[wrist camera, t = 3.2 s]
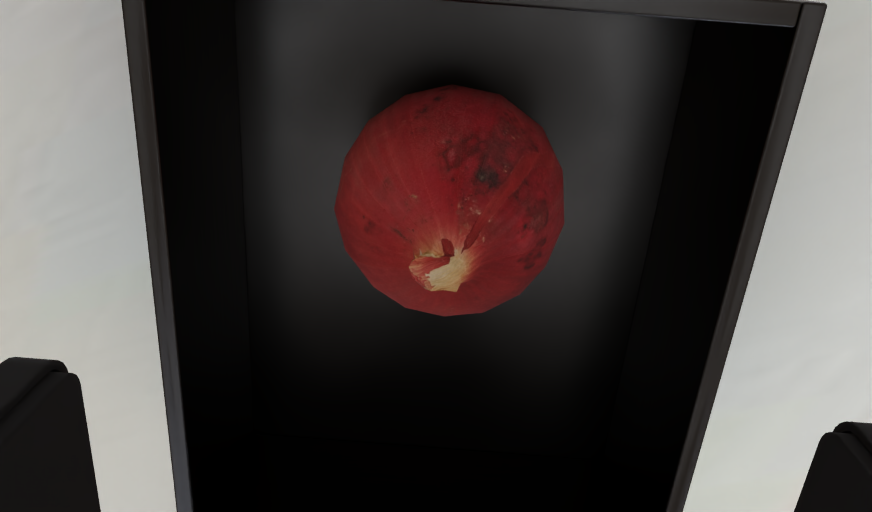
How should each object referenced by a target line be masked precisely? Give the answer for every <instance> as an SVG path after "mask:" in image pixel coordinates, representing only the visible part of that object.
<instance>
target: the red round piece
mask: <svg viewBox="0 0 872 512" xmlns="http://www.w3.org/2000/svg"><path fill="white" fill-rule="evenodd" d="M334 211H335V214H336V218H337V222H338V225H339V229H340V233H341V236H342V240H343V244H344V247H345V250H346V252H347V253H348V254H349V256H350V257H351V258H352V260H353V261H354V262H355V263H356V265H357V266H358V267H359V269H360V270H361V271H362V273H363V274H364V275H365V277H366V278H367V279H368V280H369V282H370V283H371V284H372V286H373V287H374V288H376V289H377V290H379V291H380V292H382V293H384V294H385V295H387V296H388V297H390V298H391V299H393V300H394V301H396V302H397V303H399V304H400V305H402V306H404V307H405V308H409V309H413V310H418V311H422V312H427V313H431V314H436V315H440V316H453V315H462V314H474V313H483V312H486V311H488V310H490V309H492V308H494V307H496V306H498V305H500V304H502V303H504V302H506V301H508V300H510V299H512V298H514V297H516V296H518V295H520V294H521V293H522V292H523V291H524V290H525V288H526V287H527V286H528V285H529V284H530V283H531V282H532V281H533V280H534V279H535V278H536V276H537V275H538V274H539V273H540V272H541V271H542V270H543V269H544V268H545V266H546V264H547V262H548V260H549V258H550V256H551V254H552V251H553V249H554V247H555V244H556V242H557V239H558V237H559V235H560V232H561V230H562V228H563V225H564V191H563V170H562V168H561V166H560V164H559V162H558V159H557V157H556V155H555V153H554V151H553V149H552V146H551V144H550V142H549V140H548V138H547V136H546V134H545V131H544V129H543V127H542V126H540V125H539V124H538V123H536V122H535V121H534V120H533V119H531V118H530V117H529V116H528V115H526V114H525V113H524V112H522V111H521V110H520V109H519V108H517V107H516V106H515V105H514V104H512V103H511V102H510V101H508V100H507V99H506V98H505V97H503V96H502V95H500V94H497V93H492V92H487V91H482V90H477V89H473V88H468V87H463V86H458V85H453V84H451V85H447V86H442V87H438V88H434V89H429V90H425V91H420V92H416V93H412V94H407V95H405V96H403V97H402V98H400V99H399V100H397V101H396V102H394V103H393V104H392V105H390V106H389V107H387V108H386V109H384V110H383V111H381V112H380V113H379V114H377V115H376V116H374V117H373V118H371V119H370V120H369V121H368V122H367V124H366V125H365V127H364V128H363V130H362V131H361V133H360V134H359V136H358V138H357V139H356V141H355V142H354V144H353V145H352V147H351V149H350V150H349V152H348V153H347V155H346V156H345V159H344V164H343V169H342V174H341V178H340V183H339V188H338V193H337V197H336V202H335V207H334Z"/></svg>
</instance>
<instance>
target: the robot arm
mask: <svg viewBox="0 0 872 512" xmlns="http://www.w3.org/2000/svg"><path fill="white" fill-rule="evenodd" d="M0 512H101V510H100V504H99V498H98V491H97V485H96V479H95V472H94V466H93V460H92V453H91V447H90V441H89V434H88V428H87V422H86V415H85V409H84V403H83V396H82V390H81V384H80V381H79V378H78V377H77V375H75V374H73V373H68V370H67V368H66V366H65V365H64V363H63V362H60V361H58V360H47V359H34V358H21V357H12V358H8V359H7V360H5V361H3V362H2V363H1V364H0ZM794 512H872V423H859V422H843V423H840V424H839V425H838V426H836V427H835V429H834V431H833V432H828V433H825V434H824V435H823V436H822V438H821V439H820V441H819V444H818V447H817V449H816V452H815V455H814V458H813V461H812V463H811V466H810V469H809V472H808V474H807V477H806V480H805V483H804V486H803V488H802V491H801V494H800V497H799V499H798V502H797V505H796V508H795V510H794Z"/></svg>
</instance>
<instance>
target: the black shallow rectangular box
mask: <svg viewBox="0 0 872 512" xmlns="http://www.w3.org/2000/svg"><path fill="white" fill-rule="evenodd" d="M121 1H122V10H123V19H124V29H125V38H126V47H127V56H128V66H129V75H130V84H131V93H132V102H133V112H134V121H135V130H136V139H137V148H138V158H139V167H140V176H141V185H142V194H143V204H144V213H145V222H146V231H147V240H148V250H149V259H150V268H151V277H152V287H153V296H154V305H155V314H156V323H157V333H158V342H159V351H160V360H161V369H162V379H163V388H164V397H165V406H166V415H167V425H168V434H169V443H170V452H171V462H172V471H173V480H174V489H175V498H176V508H177V512H683V508H684V505H685V501H686V498H687V494H688V491H689V487H690V484H691V480H692V477H693V473H694V470H695V466H696V463H697V459H698V456H699V452H700V449H701V445H702V442H703V438H704V435H705V431H706V428H707V424H708V421H709V417H710V414H711V410H712V407H713V403H714V400H715V396H716V393H717V389H718V386H719V382H720V379H721V375H722V372H723V368H724V365H725V361H726V358H727V354H728V351H729V347H730V344H731V340H732V337H733V333H734V330H735V327H736V323H737V320H738V316H739V313H740V309H741V306H742V302H743V299H744V295H745V292H746V288H747V285H748V281H749V278H750V274H751V271H752V267H753V264H754V260H755V257H756V253H757V250H758V246H759V243H760V239H761V236H762V232H763V229H764V225H765V222H766V218H767V215H768V211H769V208H770V204H771V201H772V197H773V194H774V190H775V187H776V183H777V180H778V176H779V173H780V169H781V166H782V162H783V159H784V155H785V152H786V148H787V145H788V141H789V138H790V134H791V131H792V127H793V124H794V120H795V117H796V113H797V110H798V106H799V103H800V99H801V96H802V92H803V89H804V85H805V82H806V78H807V75H808V71H809V68H810V64H811V61H812V57H813V54H814V50H815V47H816V43H817V40H818V36H819V33H820V29H821V26H822V22H823V19H824V15H825V12H826V8H827V4H825V3H820V2H814V1H807V0H121ZM451 84H453V85H458V86H463V87H468V88H473V89H477V90H482V91H487V92H492V93H497V94H500V95H502V96H503V97H505V98H506V99H507V100H508V101H510V102H511V103H512V104H514V105H515V106H516V107H517V108H519V109H520V110H521V111H522V112H524V113H525V114H526V115H528V116H529V117H530V118H531V119H533V120H534V121H535V122H536V123H538V124H539V125H540V126H542V127H543V129H544V131H545V134H546V136H547V138H548V140H549V142H550V144H551V146H552V149H553V151H554V153H555V155H556V157H557V159H558V162H559V164H560V166H561V168H562V170H563V191H564V225H563V228H562V230H561V232H560V235H559V237H558V239H557V242H556V244H555V247H554V249H553V251H552V254H551V256H550V258H549V260H548V262H547V264H546V266H545V268H544V269H543V270H542V271H541V272H540V273H539V274H538V275H537V276H536V278H535V279H534V280H533V281H532V282H531V283H530V284H529V285H528V286H527V287H526V288H525V290H524V291H523V292H522V293H521V294H520V295H518V296H516V297H514V298H512V299H510V300H508V301H506V302H504V303H502V304H500V305H498V306H496V307H494V308H492V309H490V310H488V311H486V312H483V313H474V314H462V315H453V316H440V315H436V314H431V313H427V312H422V311H418V310H413V309H409V308H405V307H404V306H402V305H400V304H399V303H397V302H396V301H394V300H393V299H391V298H390V297H388V296H387V295H385V294H384V293H382V292H380V291H379V290H377V289H376V288H374V287H373V286H372V284H371V283H370V282H369V280H368V279H367V278H366V277H365V275H364V274H363V273H362V271H361V270H360V269H359V267H358V266H357V265H356V263H355V262H354V261H353V260H352V258H351V257H350V256H349V254H348V253H347V252H346V250H345V247H344V244H343V240H342V236H341V233H340V229H339V225H338V222H337V218H336V214H335V211H334V207H335V202H336V197H337V193H338V188H339V183H340V178H341V174H342V169H343V164H344V159H345V156H346V155H347V153H348V152H349V150H350V149H351V147H352V145H353V144H354V142H355V141H356V139H357V138H358V136H359V134H360V133H361V131H362V130H363V128H364V127H365V125H366V124H367V122H368V121H369V120H370V119H371V118H373V117H374V116H376V115H377V114H379V113H380V112H381V111H383V110H384V109H386V108H387V107H389V106H390V105H392V104H393V103H394V102H396V101H397V100H399V99H400V98H402V97H403V96H405V95H407V94H412V93H416V92H420V91H425V90H429V89H434V88H438V87H442V86H447V85H451Z"/></svg>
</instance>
